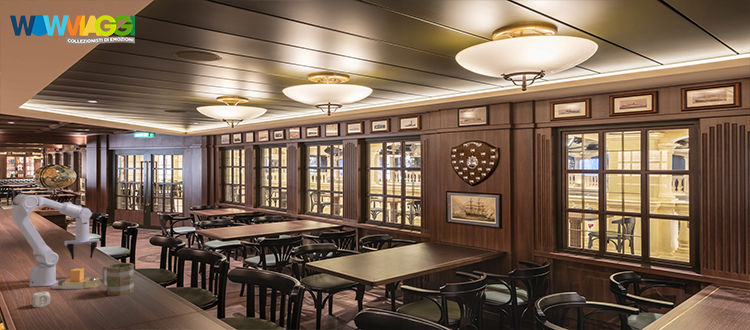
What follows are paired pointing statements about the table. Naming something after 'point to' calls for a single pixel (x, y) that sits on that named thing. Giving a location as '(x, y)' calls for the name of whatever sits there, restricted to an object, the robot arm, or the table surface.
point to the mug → (119, 279)
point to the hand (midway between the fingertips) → (82, 258)
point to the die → (40, 299)
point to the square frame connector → (78, 284)
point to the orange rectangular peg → (77, 275)
